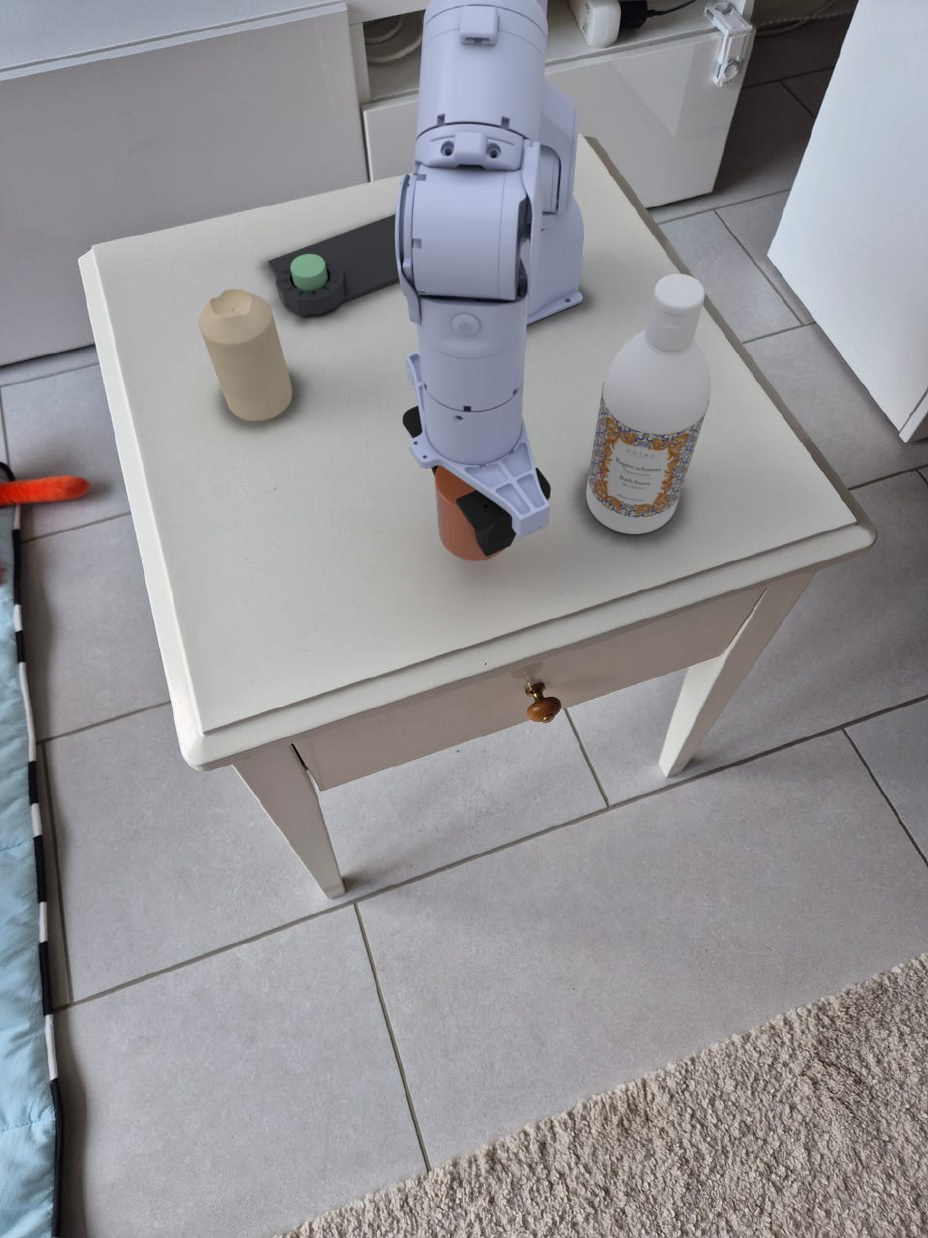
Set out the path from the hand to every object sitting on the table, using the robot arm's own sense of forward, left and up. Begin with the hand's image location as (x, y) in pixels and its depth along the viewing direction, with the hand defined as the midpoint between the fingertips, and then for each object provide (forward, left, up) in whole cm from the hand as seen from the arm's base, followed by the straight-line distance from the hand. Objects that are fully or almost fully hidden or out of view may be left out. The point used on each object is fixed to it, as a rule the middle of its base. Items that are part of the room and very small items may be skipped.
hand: (475, 516), depth 62 cm
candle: (+8, -23, -6) cm, 25 cm away
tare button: (-1, -32, -4) cm, 32 cm away
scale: (-6, -34, -6) cm, 34 cm away
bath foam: (-13, +1, -6) cm, 14 cm away
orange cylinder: (0, 0, -2) cm, 2 cm away
